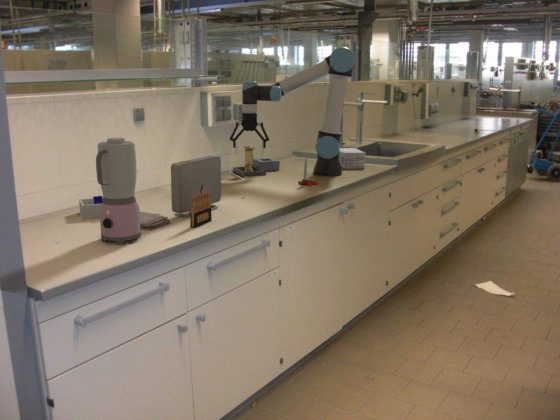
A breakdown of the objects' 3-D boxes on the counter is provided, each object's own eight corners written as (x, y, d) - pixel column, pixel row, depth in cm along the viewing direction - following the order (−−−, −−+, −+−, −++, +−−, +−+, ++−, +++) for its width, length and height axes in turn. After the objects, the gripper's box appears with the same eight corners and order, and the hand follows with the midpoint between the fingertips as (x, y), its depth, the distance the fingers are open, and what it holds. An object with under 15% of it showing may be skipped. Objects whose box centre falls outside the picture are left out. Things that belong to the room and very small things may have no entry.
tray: (265, 176, 283) (266, 171, 282) (244, 178, 278) (244, 172, 277) (253, 171, 297) (254, 166, 296) (232, 172, 292) (232, 167, 291)
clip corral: (135, 214, 206) (135, 201, 205) (83, 219, 198) (82, 205, 197) (130, 208, 215) (129, 195, 214) (79, 212, 207) (79, 199, 206)
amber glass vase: (255, 174, 286) (255, 146, 283) (246, 174, 284) (246, 147, 281) (252, 172, 291) (251, 145, 288) (242, 173, 289) (242, 146, 286)
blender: (117, 231, 184) (112, 135, 176) (148, 236, 180) (145, 137, 172) (85, 244, 170) (78, 140, 162) (118, 250, 166) (113, 143, 158)
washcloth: (150, 232, 186) (150, 223, 185) (109, 224, 194) (109, 216, 193) (172, 224, 196) (172, 215, 196) (132, 217, 204) (132, 209, 203)
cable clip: (122, 214, 204) (121, 198, 203) (111, 216, 201) (110, 200, 200) (104, 210, 212) (103, 195, 211) (94, 212, 209) (93, 196, 208)
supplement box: (333, 163, 328) (334, 148, 326) (354, 163, 331) (355, 147, 329) (343, 168, 312) (343, 152, 310) (365, 168, 315) (366, 152, 313)
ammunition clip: (194, 228, 190) (194, 194, 187) (190, 227, 191) (189, 193, 188) (211, 221, 200) (211, 188, 197) (207, 220, 201) (207, 187, 198)
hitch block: (279, 172, 297) (279, 160, 296) (260, 173, 293) (260, 161, 291) (271, 168, 307) (271, 157, 306) (252, 169, 303) (252, 158, 301)
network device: (185, 220, 200) (183, 165, 195) (166, 216, 204) (164, 162, 199) (225, 206, 222) (225, 156, 217) (207, 203, 226) (207, 154, 221)
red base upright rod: (306, 181, 275) (296, 183, 268) (308, 156, 273) (297, 157, 265) (320, 184, 271) (311, 186, 263) (322, 157, 268) (312, 159, 261)
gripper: (274, 112, 284) (273, 153, 289) (225, 111, 283) (225, 152, 288) (274, 113, 277) (273, 155, 282) (224, 112, 276) (224, 155, 281)
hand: (249, 154), depth 285 cm, fingers open, 13 cm apart
